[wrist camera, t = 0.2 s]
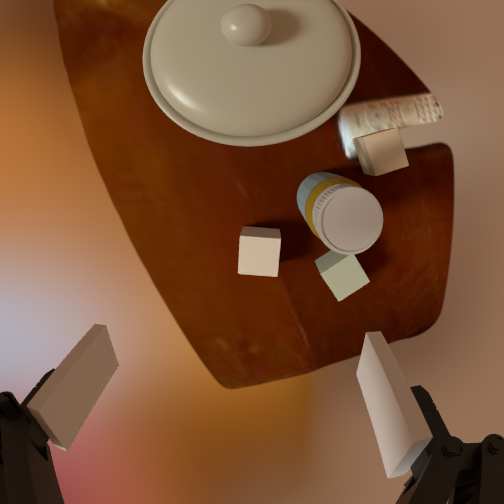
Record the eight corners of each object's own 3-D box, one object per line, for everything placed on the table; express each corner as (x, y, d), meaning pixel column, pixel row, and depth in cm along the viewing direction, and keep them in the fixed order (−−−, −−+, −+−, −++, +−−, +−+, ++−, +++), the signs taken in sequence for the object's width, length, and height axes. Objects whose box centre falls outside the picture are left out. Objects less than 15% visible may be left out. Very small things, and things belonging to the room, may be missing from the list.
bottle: (349, 175, 37) (393, 188, 23) (342, 224, 39) (379, 263, 25) (299, 168, 37) (318, 175, 23) (293, 219, 39) (307, 255, 25)
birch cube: (351, 139, 36) (363, 137, 31) (382, 130, 35) (397, 127, 30) (363, 173, 37) (375, 176, 32) (393, 163, 36) (409, 165, 31)
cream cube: (243, 226, 40) (239, 235, 36) (279, 228, 40) (281, 239, 35) (241, 260, 42) (238, 273, 37) (276, 262, 42) (277, 276, 37)
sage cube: (314, 260, 41) (320, 274, 37) (343, 241, 40) (352, 252, 35) (331, 286, 42) (338, 301, 38) (359, 267, 41) (369, 281, 37)
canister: (307, 165, 37) (351, 177, 17) (177, 136, 37) (90, 124, 17) (336, 47, 31) (390, -30, 11) (209, 22, 31) (164, -64, 11)
